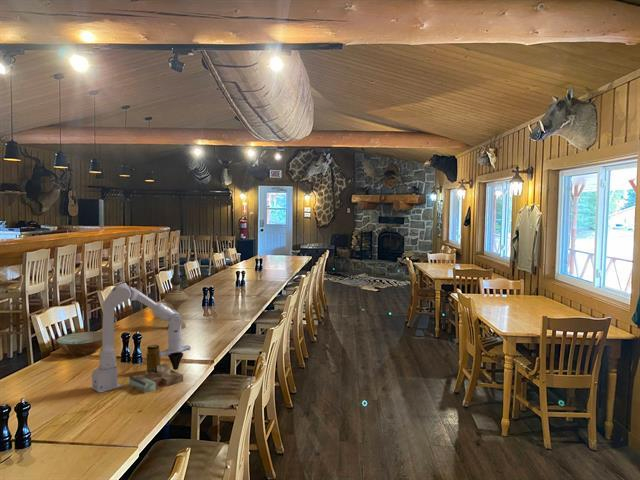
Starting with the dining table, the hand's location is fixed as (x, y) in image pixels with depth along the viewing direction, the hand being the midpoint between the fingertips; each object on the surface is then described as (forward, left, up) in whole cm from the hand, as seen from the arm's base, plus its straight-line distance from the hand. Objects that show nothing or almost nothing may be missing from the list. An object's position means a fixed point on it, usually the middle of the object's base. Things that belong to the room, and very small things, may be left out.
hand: (175, 369), depth 215 cm
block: (-6, 0, -1) cm, 6 cm away
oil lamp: (+51, +81, -4) cm, 96 cm away
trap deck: (-9, 0, -4) cm, 10 cm away
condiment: (-1, +15, -4) cm, 16 cm away
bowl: (-11, +71, -4) cm, 72 cm away
